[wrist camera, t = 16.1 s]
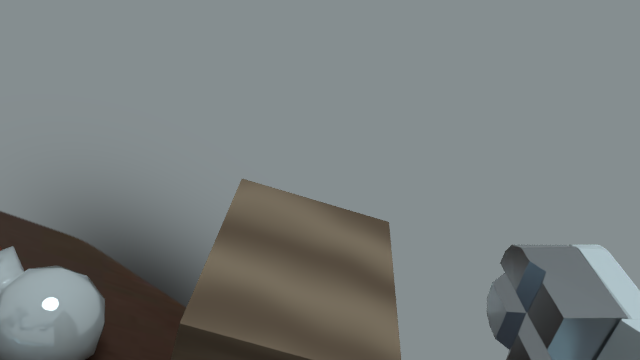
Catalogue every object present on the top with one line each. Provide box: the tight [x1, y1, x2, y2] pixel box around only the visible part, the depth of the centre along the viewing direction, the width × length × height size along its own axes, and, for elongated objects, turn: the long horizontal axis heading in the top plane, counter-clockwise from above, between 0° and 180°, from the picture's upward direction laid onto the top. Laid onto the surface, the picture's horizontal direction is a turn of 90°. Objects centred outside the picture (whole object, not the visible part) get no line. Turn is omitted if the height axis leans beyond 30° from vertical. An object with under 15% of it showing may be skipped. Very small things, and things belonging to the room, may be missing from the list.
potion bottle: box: [0, 246, 105, 360], centre depth 50 cm, size 9×10×15 cm
